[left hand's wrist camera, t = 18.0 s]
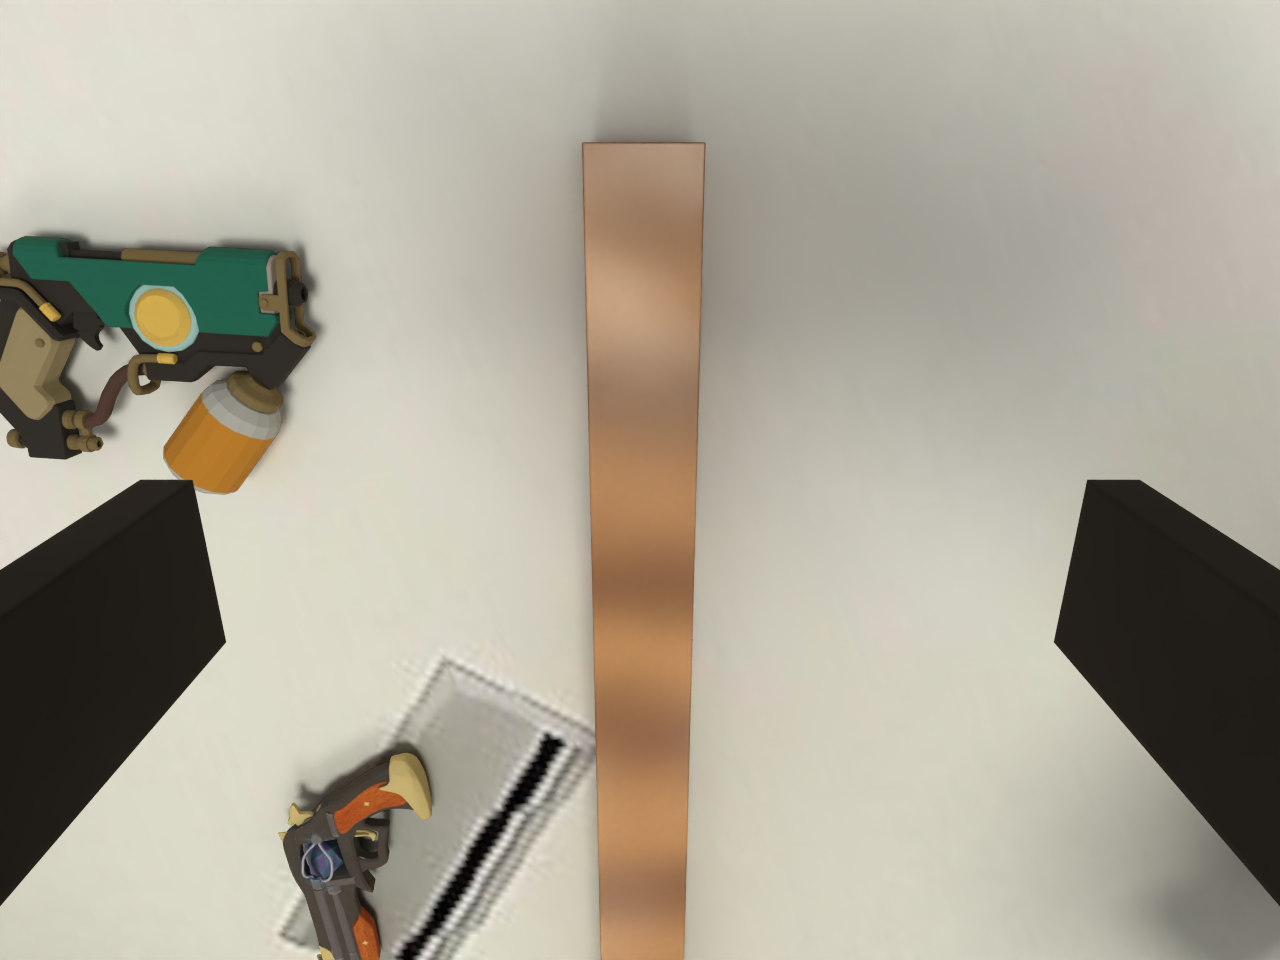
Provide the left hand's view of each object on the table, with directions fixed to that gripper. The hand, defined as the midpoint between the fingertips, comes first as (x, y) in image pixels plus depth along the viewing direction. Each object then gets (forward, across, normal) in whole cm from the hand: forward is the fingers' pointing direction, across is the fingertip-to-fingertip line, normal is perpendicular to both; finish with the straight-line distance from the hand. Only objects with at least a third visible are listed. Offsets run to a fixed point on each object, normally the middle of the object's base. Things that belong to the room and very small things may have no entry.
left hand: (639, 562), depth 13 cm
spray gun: (+33, -26, -4) cm, 42 cm away
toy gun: (+33, -18, -39) cm, 55 cm away
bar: (+33, 0, -34) cm, 47 cm away
